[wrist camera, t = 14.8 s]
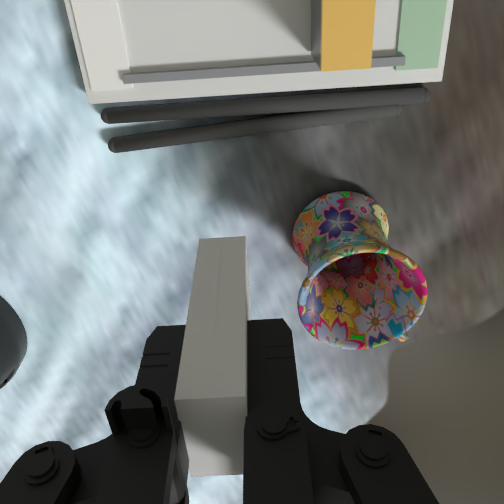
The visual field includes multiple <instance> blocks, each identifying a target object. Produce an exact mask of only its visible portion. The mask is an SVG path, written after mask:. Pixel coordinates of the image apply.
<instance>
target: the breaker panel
mask: <svg viewBox="0 0 504 504" xmlns="http://www.w3.org/2000/svg"><path fill="white" fill-rule="evenodd" d="M453 1H454V0H376V6H375V20H374V35H373V49H372V64H371V68H370V69H355V70H340V71H325V72H321V70H320V69H319V67H318V65H317V64H316V62H315V60H314V59H313V57H312V55H311V0H64V2H65V6H66V10H67V15H68V19H69V23H70V27H71V31H72V35H73V39H74V44H75V48H76V52H77V56H78V60H79V64H80V69H81V73H82V77H83V81H84V85H85V89H86V93H87V98H88V102H89V104H99V103H114V102H130V101H145V100H160V99H176V98H191V97H207V96H222V95H237V94H253V93H268V92H283V91H299V90H314V89H330V88H345V87H360V86H376V85H391V84H407V83H422V82H437V81H442V76H443V69H444V63H445V56H446V49H447V42H448V35H449V28H450V22H451V15H452V8H453Z"/></svg>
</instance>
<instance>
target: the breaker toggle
mask: <svg viewBox="0 0 504 504" xmlns="http://www.w3.org/2000/svg"><path fill="white" fill-rule="evenodd" d="M375 6H376V0H311V55H312V57H313V59H314V60H315V62H316V64H317V65H318V67H319V69H320V70H321V72H325V71H340V70H355V69H370V68H371V64H372V49H373V35H374V20H375Z"/></svg>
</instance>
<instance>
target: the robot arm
mask: <svg viewBox="0 0 504 504" xmlns="http://www.w3.org/2000/svg"><path fill="white" fill-rule="evenodd" d="M26 350H27V336H26V331H25V328H24V326H23V324H22V322H21V320H20V318H19V317H18V315H17V314H16V312H15V311H14V310H13V309H12V307H11V306H10V305H9V304H8V303H7V302H6V301H5V300H4V299H2V298H1V297H0V389H1V388H2V387H3V386H5V385H6V384H7V383H8V382H9V381H10V380H11V379H12V377H13V376H14V375H15V373H16V371H17V370H18V368H19V366H20V364H21V362H22V360H23V359H24V356H25V354H26ZM105 413H106V416H107V419H108V422H109V425H110V428H111V431H112V434H111V435H110V436H108V437H107V438H105V439H103V440H101V441H99V442H96V443H94V444H91V445H88V446H85V447H82V448H79V449H76V450H72V449H71V447H70V446H69V445H68V444H65V443H63V442H61V441H48V442H45V443H42V444H39V445H36V446H34V447H33V448H31V449H29V450H28V451H26V452H25V453H24V454H23V455H22V456H21V457H20V458H19V459H18V460H17V461H16V462H15V463H14V465H13V466H12V468H11V469H10V470H9V472H8V473H7V475H6V476H5V478H4V479H3V480H2V482H1V483H0V504H189V494H188V488H187V477H188V468H189V470H190V475H191V477H196V476H218V475H239V474H243V504H439V503H438V501H437V499H436V498H435V496H434V494H433V493H432V491H431V489H430V488H429V486H428V484H427V483H426V481H425V479H424V478H423V476H422V474H421V473H420V471H419V469H418V468H417V466H416V464H415V463H414V461H413V459H412V458H411V456H410V454H409V453H408V451H407V449H406V448H405V446H404V444H403V443H402V442H401V441H400V439H399V438H397V436H396V435H395V434H394V433H392V432H391V431H389V430H387V429H386V428H384V427H380V426H376V425H372V424H369V425H359V426H357V427H355V428H352V429H350V430H349V431H348V432H347V433H346V434H343V433H339V432H335V431H331V430H327V429H325V428H322V427H320V426H318V425H316V424H315V423H313V422H312V421H311V420H310V419H309V418H308V417H307V416H306V415H305V413H304V412H303V410H302V407H301V403H300V397H299V388H298V380H297V371H296V363H295V355H294V347H293V338H292V330H291V329H290V328H289V326H288V325H287V324H286V322H285V321H284V320H283V318H282V319H263V320H251V299H250V287H249V274H248V261H247V249H246V236H242V237H225V238H208V239H199V245H198V252H197V258H196V265H195V271H194V277H193V284H192V290H191V296H190V303H189V309H188V315H187V322H186V325H173V326H157V327H156V328H155V330H154V331H153V332H152V333H151V335H150V336H149V337H148V338H147V340H146V344H145V348H144V352H143V357H142V360H141V364H140V369H139V372H138V376H137V380H136V384H135V385H134V386H130V387H128V388H126V389H124V390H122V391H120V392H118V393H117V394H116V395H115V396H114V397H113V398H112V399H111V400H110V401H109V403H108V404H107V406H106V408H105Z"/></svg>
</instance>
